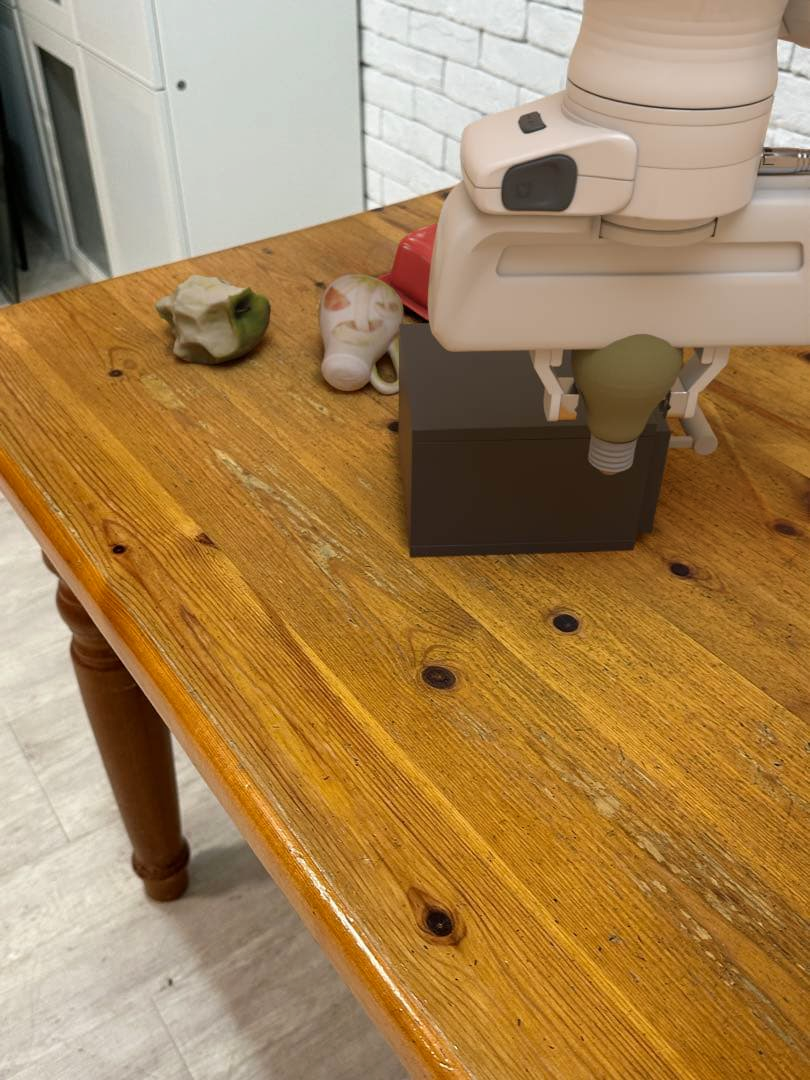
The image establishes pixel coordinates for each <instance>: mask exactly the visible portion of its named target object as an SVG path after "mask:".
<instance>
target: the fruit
mask: <svg viewBox="0 0 810 1080" xmlns="http://www.w3.org/2000/svg"><path fill="white" fill-rule="evenodd" d="M154 307H155V310H156V311H157V313H158V315H159V317H160V319H163V320H165V321H166V322H167V323H168V324H169V327H170V331H171V333H172V335H173V336H174V337H175V341H174V345H173V349H172V355H174V356H176V357H177V358H179V359H181V360H184V361H186V362H190V363H194V364H199V365H200V364H201V365H217V364H222V363H225V362H228V361H231V360H235V359H237V358H240V357H242V356H244V355H245V354H247V353H249V352H251V351H252V350H254V349H255V347H256V346H257V345H258V344H259V343H261V341H262V340H263V337H264V336H265V333H266V332H267V330H268V327H269V325H270V319H271V313H272V306H271V303H270V301H269V299H268V297H266V296H265V294H262V293H256V292H255V291H252V287H251V286H249V285H246V287H238V286H235V285H232V284H231V283H230V282H229V281H227V280H224V279H219V278H218V277H217V276H211V277H207V276H203V275H201V274H192V275H189V276H188V277H187V278H186V280H185V281H184V282H183V283H179V284H178V285H177V286H176V288H175V289H174V290H173V293H172V294H171V295H166V296H163V297H161V298H160V299H159V300H158V301H155V306H154Z"/></svg>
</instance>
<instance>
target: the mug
mask: <svg viewBox="0 0 810 1080" xmlns="http://www.w3.org/2000/svg"><path fill="white" fill-rule="evenodd" d="M404 312H405V311H404V304H403V303H402V301H401V299H400V297H399V296H398V294H397V293H396V292H395V291H394V290H393V289H392V288H391V287H390V286H389V285H387V284H386V283H384V282H383V281H381V280H379V279H377V277H373V276H371V275H366V274H354V273H353V274H345V275H341V276H339V277H338V278H336V279H334V280H332V281H331V282H330V284H329V285H327V287H326V288H325V290H324V291H323V294H322V295H321V298H320V301H319V304H318V308H317V322H318V329H319V332H320V336H321V340H322V343H323V346H324V354H323V358H322V362H321V365H320V370H321V374H322V377H323V378H324V380H325V381H326V382H327V383H328V384H329V385H330V386H331V387H333V388H335V389H337V390H339V391H343V392H352V391H357V390H360V389H362V388H363V387H365V385H367V384H368V383H370V384H371V385H372V387H373V388H374V389H376V391H378V393H380V394H382V395H393V394H397V393H399V324H404V317H405V315H404V314H405V313H404ZM386 353H388V355H389V357H390V359H391V362H392V364H393V367H394V370H395V374H396V381H395V382H392V383H390V382H386V381H384V380H382V378H380V376H379V373H378V369H377V366H376V363H377V362H378V361H379V360H380V359H382V357H383V356H384V355H385V354H386Z"/></svg>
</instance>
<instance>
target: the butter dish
mask: <svg viewBox="0 0 810 1080" xmlns="http://www.w3.org/2000/svg"><path fill="white" fill-rule="evenodd" d="M437 226H438V222H437V223H434V224H429V225H426V226H423V227H420V228H418V229H416V230H414V231H411V232H409V233H408V234H406V235H405V236H404V237H402V238H401V240H400V241H399V243H398V245H397V249H396V253H395V256H394V260H393V264H392V268H391V271H390V272H388V273H385V274H382V275H379V276H377V277H376V278H377V279H379V280H381V281H383V282H384V283H386V284H387V285H389V286H390V287H391V288H392V289H393V290H394V291H395V292H396V293H397V294H398V296H399V297H400V299H401V301H402V304H403V306H406V307H407V308H408V309H410V310H411V311H413V312H414V313H416V314H417V315H419V316H420V317H421V318H422V319H425V320H426V321H427V322H429V316H428V287H429V276H430V267H431V259H432V253H433V246H434V241H435V236H436V230H437Z"/></svg>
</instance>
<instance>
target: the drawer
mask: <svg viewBox="0 0 810 1080" xmlns="http://www.w3.org/2000/svg"><path fill="white" fill-rule="evenodd" d="M652 414H653V416H654V419H655V421H656V423H657V428H656V433H655V438H654V443H653V449H652V454H651V459H650V465H649V470H648V475H647V481H646V486H645V491H644V497H643V502H642V507H641V513H640V518H639V523H638V529H637V534H651V533H652V532H653V527H654V521H655V517H656V512H657V507H658V502H659V497H660V491H661V486H662V481H663V477H664V472H665V467H666V462H667V456H668V450H669V449H693V451H694V453H695V454H697V455H699V456H708V455H711V454H712V453H714V452H715V451H716V449H717V448H718V443H719V441H718V439H717V436H716V435H715V433H714V431H713V429H712V427H711V426H710V424H709V422H708V420H707V418H706V416H705V415H704V412H703V411H702V408H701V407H700V405H699V403H698V402H697V403H696V408H695V412H694V416H693V418H677V420H678V421H679V423H680V426H681V428H682V429H683V431H684V434H685V435H677V436H676V435H675V436H674V435H673V436H672V430H671V427H670V425H669V424H668V421H667V419H664V418H663V416H662V414H663V412H661V411H660V409H659V406H658V405H657V406H656V408H655V409H654V410H653V412H652Z"/></svg>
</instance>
